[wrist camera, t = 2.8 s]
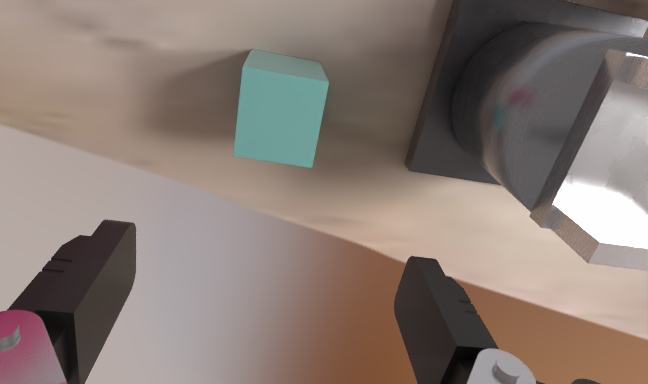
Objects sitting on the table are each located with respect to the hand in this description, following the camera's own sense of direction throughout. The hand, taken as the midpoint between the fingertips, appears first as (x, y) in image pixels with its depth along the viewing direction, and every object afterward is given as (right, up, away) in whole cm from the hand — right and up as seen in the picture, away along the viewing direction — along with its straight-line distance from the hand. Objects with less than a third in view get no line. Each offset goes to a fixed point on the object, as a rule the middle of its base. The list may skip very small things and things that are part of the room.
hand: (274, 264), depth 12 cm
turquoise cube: (-2, +10, +19) cm, 21 cm away
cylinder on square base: (+16, +10, +21) cm, 28 cm away
